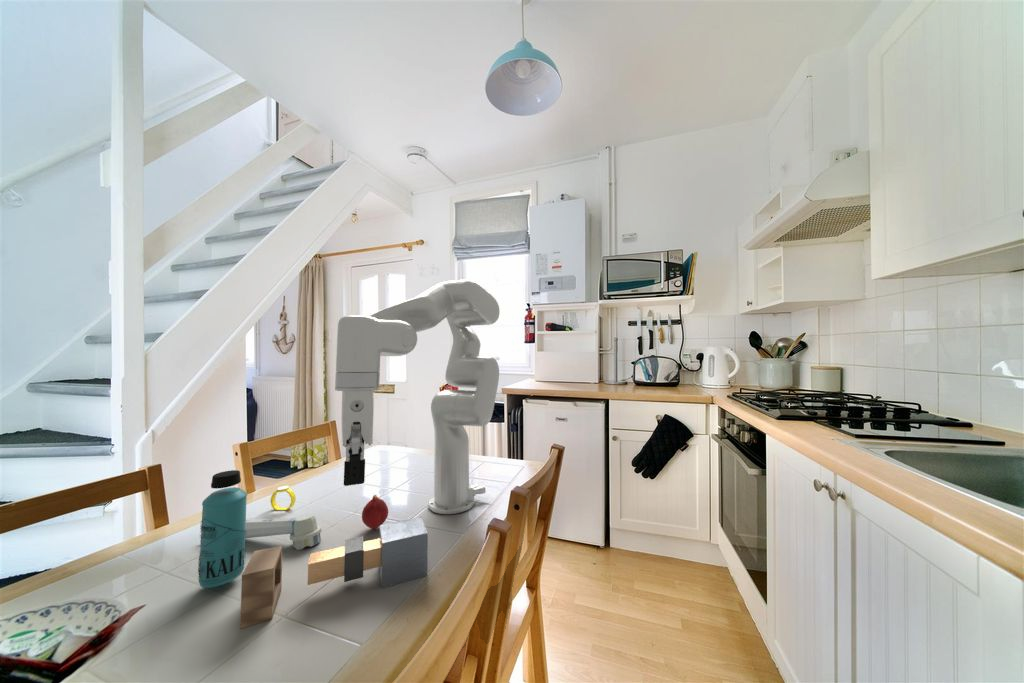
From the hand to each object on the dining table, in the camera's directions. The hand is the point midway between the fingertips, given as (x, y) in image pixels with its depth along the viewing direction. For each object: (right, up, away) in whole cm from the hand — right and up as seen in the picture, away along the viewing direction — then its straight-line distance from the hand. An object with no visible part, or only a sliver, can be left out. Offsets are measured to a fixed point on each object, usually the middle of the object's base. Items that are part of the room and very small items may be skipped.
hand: (354, 475), depth 61 cm
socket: (-12, -19, -7) cm, 23 cm away
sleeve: (+8, -19, +3) cm, 21 cm away
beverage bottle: (-23, -20, -1) cm, 31 cm away
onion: (-4, -20, +18) cm, 28 cm away
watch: (-33, -21, +29) cm, 48 cm away
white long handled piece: (-26, -21, +13) cm, 36 cm away
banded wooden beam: (+3, -17, 0) cm, 17 cm away
